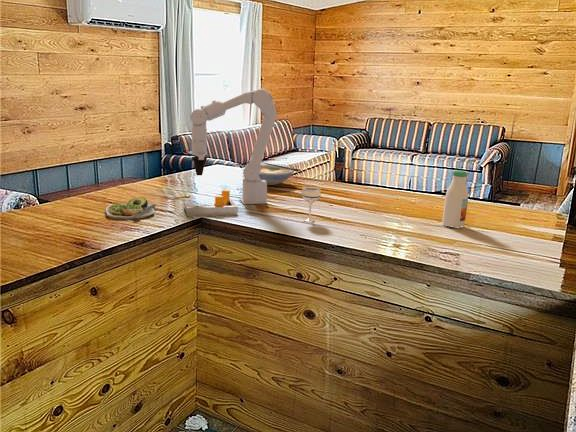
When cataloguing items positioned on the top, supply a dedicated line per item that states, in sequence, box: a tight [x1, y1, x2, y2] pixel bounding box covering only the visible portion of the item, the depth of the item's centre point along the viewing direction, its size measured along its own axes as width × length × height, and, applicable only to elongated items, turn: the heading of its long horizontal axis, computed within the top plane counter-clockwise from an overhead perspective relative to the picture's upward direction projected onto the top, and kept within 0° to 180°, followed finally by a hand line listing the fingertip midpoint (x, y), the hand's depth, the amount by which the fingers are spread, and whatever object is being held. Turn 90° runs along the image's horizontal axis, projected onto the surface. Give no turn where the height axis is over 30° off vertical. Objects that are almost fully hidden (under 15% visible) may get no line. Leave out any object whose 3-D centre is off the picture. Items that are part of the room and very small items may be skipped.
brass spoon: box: [173, 194, 191, 200], centre depth 212 cm, size 6×2×1 cm, turn 126°
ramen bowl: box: [259, 162, 302, 186], centre depth 243 cm, size 25×23×8 cm
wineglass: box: [301, 185, 322, 221], centre depth 186 cm, size 7×7×12 cm
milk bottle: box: [442, 169, 469, 227], centre depth 186 cm, size 8×8×20 cm
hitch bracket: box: [183, 199, 239, 217], centre depth 193 cm, size 18×12×3 cm, turn 106°
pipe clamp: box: [213, 189, 231, 206], centre depth 196 cm, size 12×4×6 cm, turn 173°
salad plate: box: [105, 196, 157, 221], centre depth 185 cm, size 19×18×5 cm
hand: (199, 175), depth 207 cm, fingers closed
